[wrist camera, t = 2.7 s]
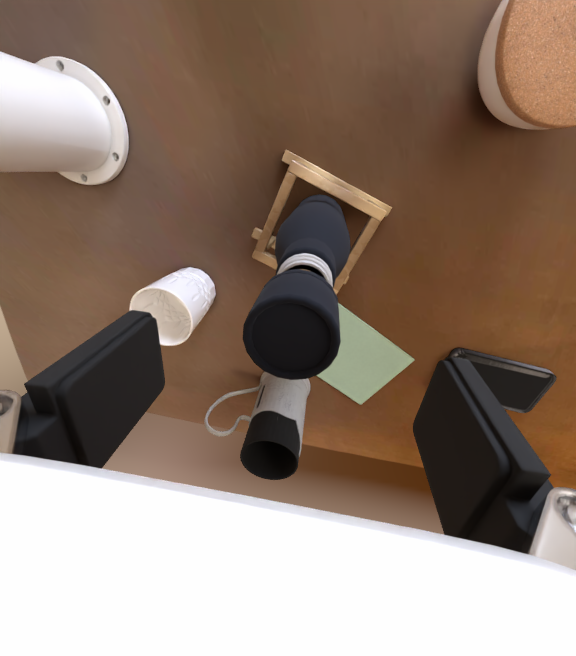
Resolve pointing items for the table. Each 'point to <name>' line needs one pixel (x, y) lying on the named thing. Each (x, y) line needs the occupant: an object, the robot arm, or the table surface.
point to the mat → (363, 359)
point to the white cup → (176, 303)
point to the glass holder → (272, 426)
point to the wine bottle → (301, 294)
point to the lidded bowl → (530, 64)
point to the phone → (510, 379)
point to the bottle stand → (334, 188)
